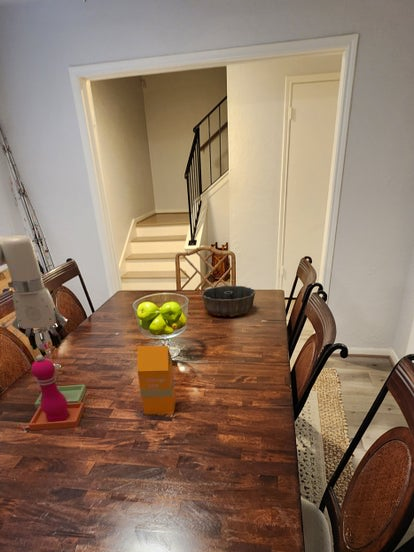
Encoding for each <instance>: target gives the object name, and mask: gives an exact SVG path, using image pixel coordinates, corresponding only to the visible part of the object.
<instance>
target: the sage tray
mask: <svg viewBox="0 0 414 552" xmlns="http://www.w3.org/2000/svg"><path fill="white" fill-rule="evenodd" d="M57 388H58V390H59V391H60V392H61V393H62V394H63V395H64V396H65V398H66V400H67V403H82V402H83V401H82V400H83V398H84V396H85V393H86V391H87V388H86V385H85V384H74V385H73V384H72V385H60V386H59V385H58V386H57ZM41 396H42V392H41V393H40V394H39V396H38V397H37V399H36V401H35V402H34V407H35V409H36V410H38V408H39V406H41Z"/></svg>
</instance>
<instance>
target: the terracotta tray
mask: <svg viewBox="0 0 414 552" xmlns="http://www.w3.org/2000/svg"><path fill="white" fill-rule="evenodd" d="M66 408H67V409H68V412H69V416H68V418H67V419H66V420H64V421H59V422H48V421H47V418H46V413H44V412H43V411H42V409H41V406H39V408H38V409H36V411H35V413H34V415H33V416H32V418H31V420H30V421H29V423H28V428H29V430H30V431H43V430H44V431H45V430H56V429H68V428H78V426H79V425H80V421H81V419H82V416H83V415H84V411H85V409H86V407H85V403H84V402H83V401H81V403H68V405H67V407H66Z"/></svg>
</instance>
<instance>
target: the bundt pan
mask: <svg viewBox="0 0 414 552" xmlns="http://www.w3.org/2000/svg"><path fill="white" fill-rule="evenodd" d="M255 295H256V290H255V289H253V288H252V287H248V286H245V285H220V286H214V287H210V288H206V289H205V290H203V291H202V292H201V297H202V299H203V305H204V308H205V309H206V311H207V312H208V313H209V314H210V315H213V316H217V317H221V316H222V317H224V318H226V317H230V318H232V317H235V316H237V317H239V316H241V315H245V314H247V313H248V312H249V311H251V310H252V308H253V306H254V301H255Z"/></svg>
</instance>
